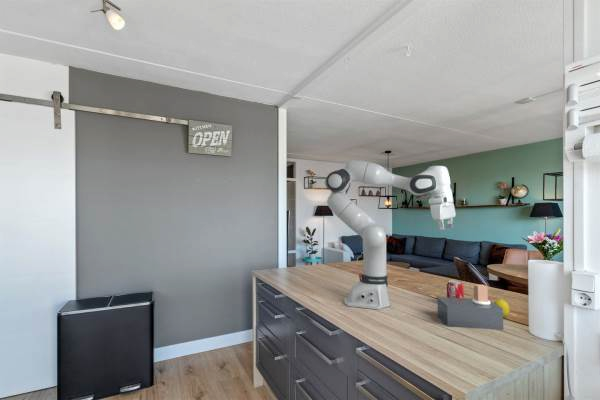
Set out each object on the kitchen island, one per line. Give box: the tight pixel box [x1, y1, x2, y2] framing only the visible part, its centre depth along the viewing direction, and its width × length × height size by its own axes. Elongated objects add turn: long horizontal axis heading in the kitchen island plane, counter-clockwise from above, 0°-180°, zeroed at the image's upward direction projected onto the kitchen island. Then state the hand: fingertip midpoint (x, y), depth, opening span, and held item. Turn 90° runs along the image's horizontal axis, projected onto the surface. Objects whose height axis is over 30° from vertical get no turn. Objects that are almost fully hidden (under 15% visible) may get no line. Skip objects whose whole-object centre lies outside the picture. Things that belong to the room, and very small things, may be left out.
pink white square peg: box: [472, 284, 491, 306], centre depth 114 cm, size 6×6×12 cm
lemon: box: [493, 298, 511, 319], centre depth 119 cm, size 6×6×8 cm
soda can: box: [446, 279, 465, 298], centre depth 133 cm, size 7×7×12 cm
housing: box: [436, 296, 504, 331], centre depth 115 cm, size 20×12×8 cm, turn 81°
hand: (446, 228), depth 130 cm, fingers open, 8 cm apart
